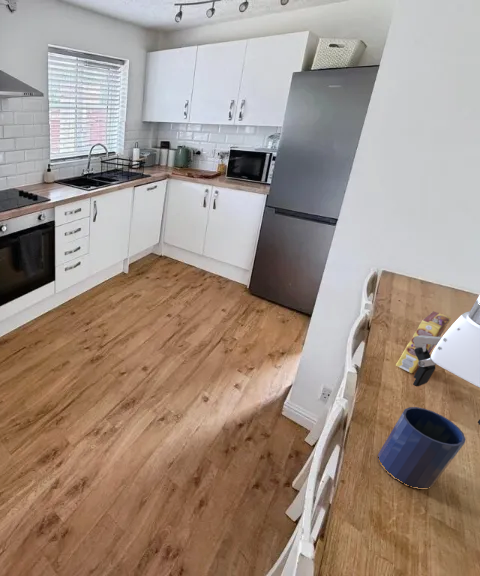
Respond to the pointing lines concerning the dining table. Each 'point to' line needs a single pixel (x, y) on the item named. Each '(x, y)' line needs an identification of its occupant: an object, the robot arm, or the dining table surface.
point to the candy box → (427, 327)
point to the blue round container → (420, 447)
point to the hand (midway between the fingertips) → (450, 402)
